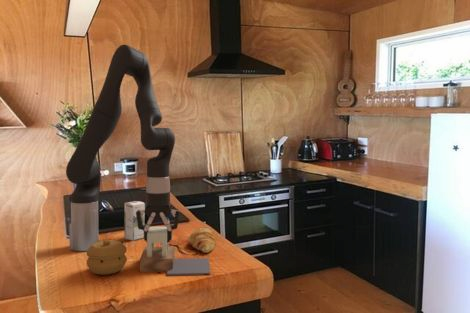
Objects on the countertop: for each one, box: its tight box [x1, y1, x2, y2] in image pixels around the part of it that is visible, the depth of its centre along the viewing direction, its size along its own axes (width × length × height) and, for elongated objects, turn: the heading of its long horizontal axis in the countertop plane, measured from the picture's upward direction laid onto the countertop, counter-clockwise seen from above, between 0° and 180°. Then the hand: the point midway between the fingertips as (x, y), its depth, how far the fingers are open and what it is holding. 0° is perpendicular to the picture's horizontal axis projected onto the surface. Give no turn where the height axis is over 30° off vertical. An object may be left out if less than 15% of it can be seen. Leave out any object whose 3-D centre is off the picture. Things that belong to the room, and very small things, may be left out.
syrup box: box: [123, 200, 146, 242], centre depth 154 cm, size 6×6×14 cm
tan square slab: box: [139, 246, 176, 273], centre depth 126 cm, size 10×12×4 cm
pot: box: [86, 239, 128, 276], centre depth 119 cm, size 12×12×10 cm
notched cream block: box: [146, 226, 169, 257], centre depth 125 cm, size 6×8×8 cm
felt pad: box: [166, 257, 211, 277], centre depth 124 cm, size 13×13×1 cm
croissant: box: [188, 227, 217, 254], centre depth 146 cm, size 21×10×8 cm, turn 14°
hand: (158, 241), depth 125 cm, fingers closed on notched cream block, 6 cm apart
